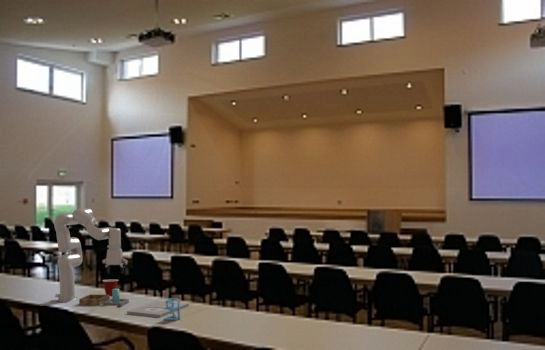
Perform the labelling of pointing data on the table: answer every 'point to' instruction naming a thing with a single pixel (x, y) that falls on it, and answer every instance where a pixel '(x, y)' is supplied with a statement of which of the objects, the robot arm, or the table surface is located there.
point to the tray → (124, 301)
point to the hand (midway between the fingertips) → (115, 273)
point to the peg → (115, 296)
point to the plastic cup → (110, 285)
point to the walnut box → (94, 299)
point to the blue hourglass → (173, 309)
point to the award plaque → (155, 309)
